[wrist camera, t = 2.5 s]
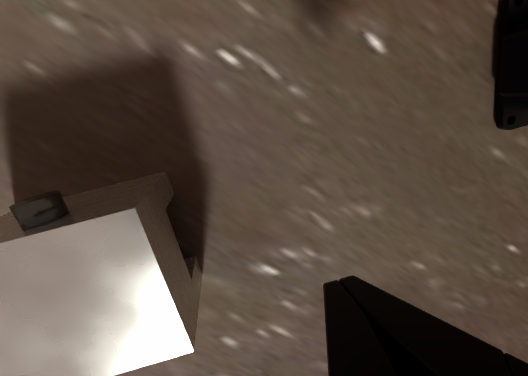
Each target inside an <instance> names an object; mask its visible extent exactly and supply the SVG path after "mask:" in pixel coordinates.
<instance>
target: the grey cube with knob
mask: <svg viewBox="0 0 528 376" xmlns="http://www.w3.org/2000/svg"><path fill="white" fill-rule="evenodd" d="M173 195H174V192H173V190H172V187H171V184H170V181H169V178H168V176H167V173H166V171H164V172H160V173H156V174H152V175H148V176H144V177H140V178H136V179H132V180H128V181H124V182H121V183H117V184H113V185H109V186H105V187H101V188H97V189H93V190H89V191H85V192H81V193H77V194H73V195H69V196H65V197H62V196H61V193H60V191H53V192H48V193H44V194H41V195H38V196H34V197H31V198H28V199H26V200H23V201H20V202H18V203H16V204H14V205H12V206H10V207H9V208H10V210H11V212H9V213H7V214H5V215H3V216H1V217H0V376H114V375H117V374H121V373H124V372H127V371H131V370H134V369H137V368H140V367H144V366H147V365H150V364H154V363H157V362H160V361H164V360H167V359H170V358H174V357H177V356H180V355H184V354H187V353H190V352H193V351H194V345H195V336H196V327H197V318H198V309H199V300H200V292H201V283H202V272H201V269H200V266H199V263H198V260H197V258H196V256H193V257H190V258H186V259H184V258H183V256H182V253H181V250H180V248H179V245H178V242H177V239H176V237H175V234H174V231H173V229H172V226H171V223H170V221H169V218H168V215H167V213H166V208H167V206H168V204H169V203H170V201H171V199H172V197H173Z"/></svg>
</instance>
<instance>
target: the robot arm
mask: <svg viewBox="0 0 528 376" xmlns="http://www.w3.org/2000/svg"><path fill="white" fill-rule="evenodd" d="M507 119H508V121H507ZM526 125H528V0H515V5H514V0H502V1H501V9H500V32H499V55H498V78H497V101H496V126H497V127H498V128H499V129H505V130H511V129H515V128H519V127H523V126H526ZM323 292H324V308H325V325H326V341H327V358H328V374H329V376H528V363H526V362H524V361H522V360H520V359H518V358H516V357H514V356H512V355H510V354H508V353H505V354H504V353H503V352H502V350H500V349H498V348H496V347H494V346H492V345H490V344H488V343H486V342H484V341H482V340H480V339H478V338H476V337H474V336H472V335H470V334H468V333H466V332H464V331H462V330H460V329H458V328H456V327H454V326H452V325H450V324H449V323H447V322H445V321H443V320H441V319H439V318H437V317H435V316H433V315H431V314H429V313H427V312H425V311H423V310H421V309H419V308H417V307H415V306H413V305H411V304H409V303H407V302H405V301H403V300H401V299H399V298H397V297H395V296H393V295H391V294H389V293H387V292H385V291H383V290H381V289H379V288H377V287H375V286H373V285H371V284H369V283H368V282H366V281H364V280H362V279H360V278H358V277H356V276H348V277H345V278H341V279H340V280H339V281H337V280H334V281H331V282H327V283H324V285H323Z"/></svg>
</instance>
